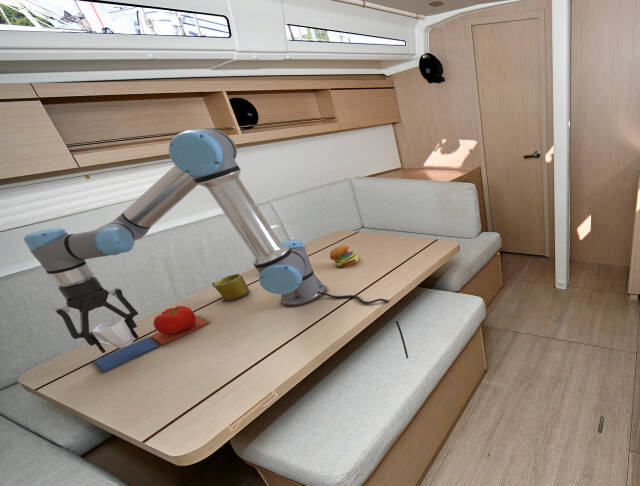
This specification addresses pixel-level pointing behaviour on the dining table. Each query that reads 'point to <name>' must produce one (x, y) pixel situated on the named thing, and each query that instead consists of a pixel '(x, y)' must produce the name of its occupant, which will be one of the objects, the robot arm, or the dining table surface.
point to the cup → (114, 332)
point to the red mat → (169, 337)
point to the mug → (231, 287)
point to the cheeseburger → (343, 256)
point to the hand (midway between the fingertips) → (120, 343)
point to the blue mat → (125, 354)
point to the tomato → (174, 320)
